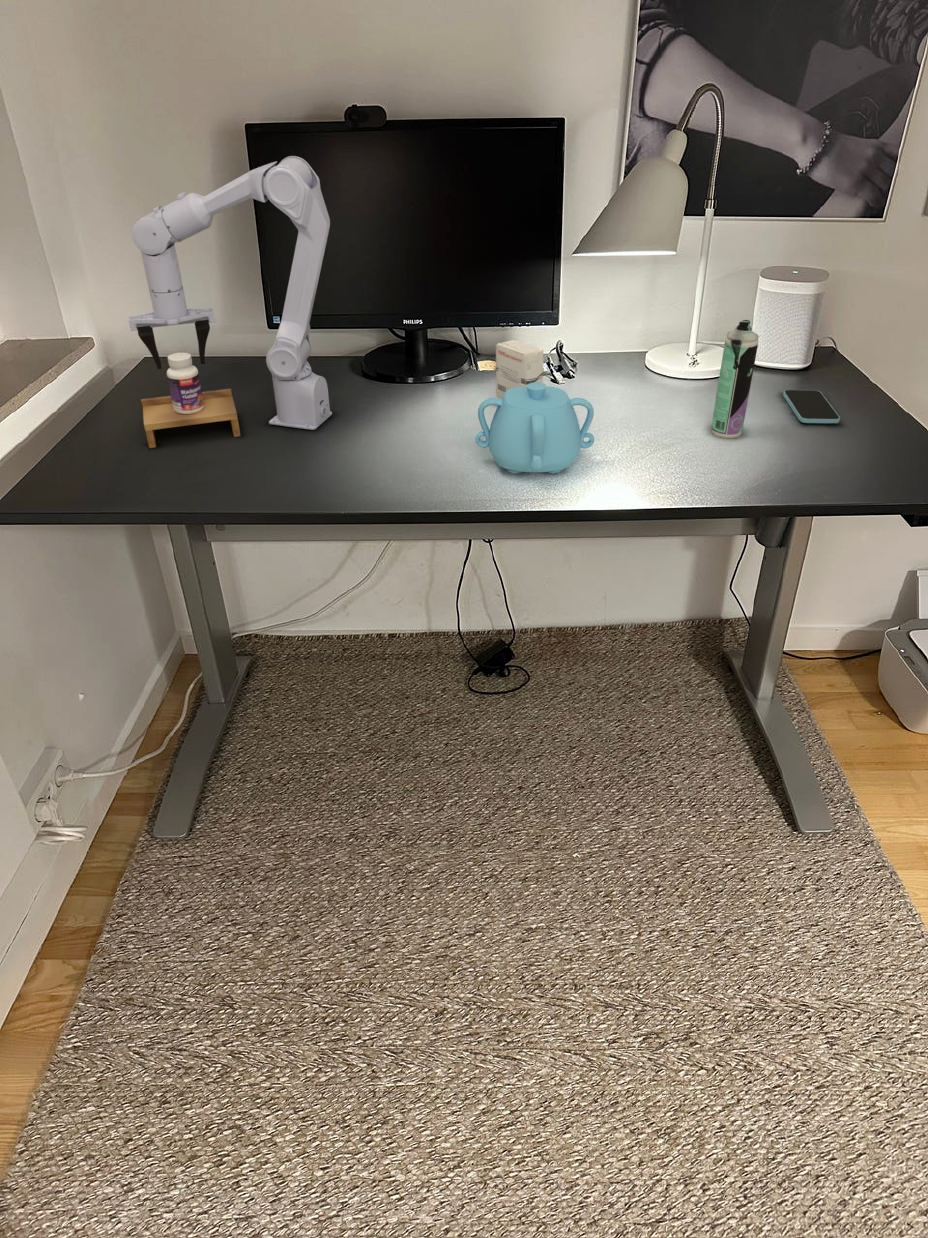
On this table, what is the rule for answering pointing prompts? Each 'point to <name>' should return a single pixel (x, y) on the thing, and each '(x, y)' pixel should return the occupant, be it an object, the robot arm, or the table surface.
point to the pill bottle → (184, 384)
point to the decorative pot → (535, 429)
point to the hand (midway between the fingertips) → (181, 364)
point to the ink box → (517, 366)
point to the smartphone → (811, 406)
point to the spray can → (734, 381)
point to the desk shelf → (163, 415)
